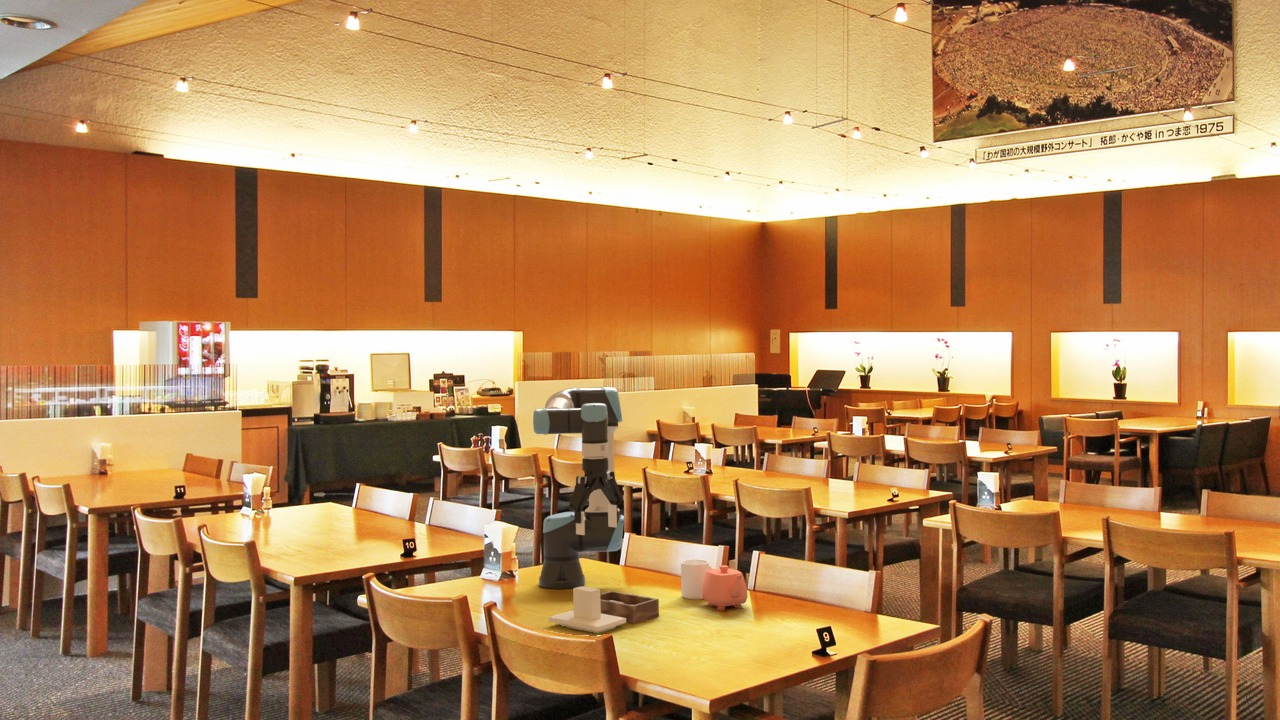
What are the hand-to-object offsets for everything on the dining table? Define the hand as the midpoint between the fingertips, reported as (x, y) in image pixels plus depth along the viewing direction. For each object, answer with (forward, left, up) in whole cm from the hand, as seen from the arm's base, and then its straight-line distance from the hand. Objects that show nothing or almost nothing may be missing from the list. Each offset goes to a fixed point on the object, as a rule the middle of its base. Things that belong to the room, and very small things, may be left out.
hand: (596, 530), depth 307 cm
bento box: (+5, +5, -25) cm, 26 cm away
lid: (+5, -10, -25) cm, 27 cm away
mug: (+8, +38, -25) cm, 46 cm away
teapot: (+23, +31, -25) cm, 46 cm away
